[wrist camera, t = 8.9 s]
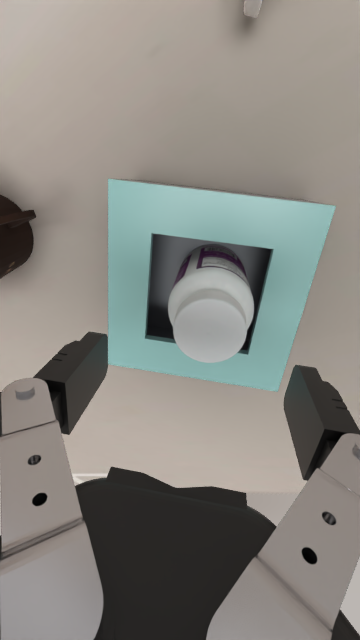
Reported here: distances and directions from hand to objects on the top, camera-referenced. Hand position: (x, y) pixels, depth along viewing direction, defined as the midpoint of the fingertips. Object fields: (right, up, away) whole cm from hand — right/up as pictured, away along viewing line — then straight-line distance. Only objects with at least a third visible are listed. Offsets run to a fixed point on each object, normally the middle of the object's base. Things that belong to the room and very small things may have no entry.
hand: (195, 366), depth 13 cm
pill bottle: (+2, +6, +12) cm, 13 cm away
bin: (+2, +6, +12) cm, 14 cm away
